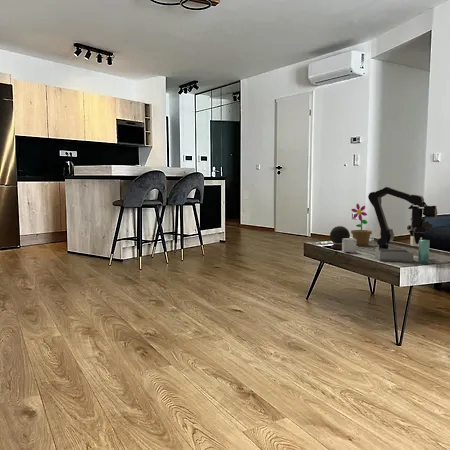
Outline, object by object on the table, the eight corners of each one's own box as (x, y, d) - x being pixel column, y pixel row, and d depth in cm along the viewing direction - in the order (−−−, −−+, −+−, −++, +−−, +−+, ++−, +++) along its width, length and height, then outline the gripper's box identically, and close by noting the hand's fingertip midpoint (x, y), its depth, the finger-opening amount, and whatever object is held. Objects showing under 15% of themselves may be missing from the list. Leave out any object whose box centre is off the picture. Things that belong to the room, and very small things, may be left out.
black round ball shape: (353, 248, 284) (354, 226, 283) (341, 249, 277) (341, 227, 275) (337, 246, 295) (338, 224, 294) (325, 247, 287) (326, 225, 286)
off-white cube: (410, 244, 249) (410, 236, 248) (419, 244, 248) (419, 236, 248) (412, 245, 244) (412, 237, 243) (421, 245, 243) (422, 237, 243)
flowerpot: (346, 244, 303) (347, 203, 301) (357, 243, 313) (358, 202, 310) (364, 246, 292) (366, 203, 290) (375, 245, 302) (376, 203, 300)
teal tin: (416, 262, 230) (417, 239, 229) (426, 262, 229) (427, 239, 228) (419, 263, 225) (420, 240, 224) (429, 264, 224) (430, 240, 223)
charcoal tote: (375, 257, 247) (375, 248, 247) (406, 257, 244) (407, 249, 244) (379, 260, 234) (380, 251, 234) (413, 261, 231) (413, 252, 231)
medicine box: (353, 251, 269) (354, 238, 268) (356, 252, 264) (356, 239, 264) (341, 251, 269) (342, 238, 268) (343, 252, 264) (344, 239, 263)
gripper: (437, 218, 234) (435, 245, 235) (426, 216, 252) (425, 241, 254) (415, 217, 236) (414, 245, 237) (407, 215, 254) (406, 241, 256)
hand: (415, 243), depth 246 cm, fingers closed on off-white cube, 5 cm apart
